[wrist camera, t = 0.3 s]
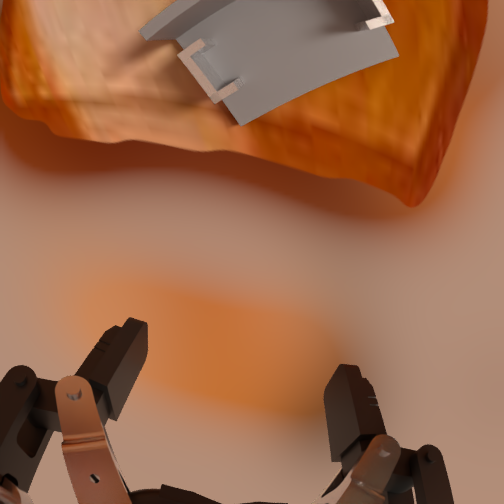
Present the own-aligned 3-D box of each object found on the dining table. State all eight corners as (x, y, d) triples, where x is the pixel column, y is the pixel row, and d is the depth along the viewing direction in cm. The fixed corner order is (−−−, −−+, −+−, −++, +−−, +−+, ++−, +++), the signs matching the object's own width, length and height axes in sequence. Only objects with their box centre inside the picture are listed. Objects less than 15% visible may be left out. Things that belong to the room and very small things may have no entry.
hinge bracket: (172, 30, 25) (136, 29, 18) (329, -49, 16) (343, -76, 9) (242, 123, 33) (229, 149, 26) (395, 55, 24) (429, 62, 17)
